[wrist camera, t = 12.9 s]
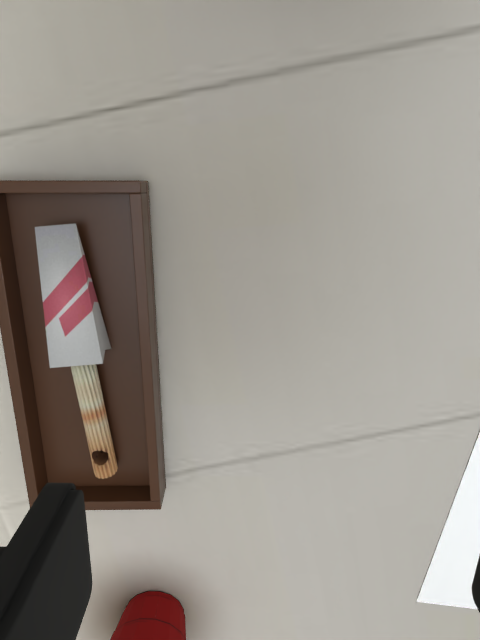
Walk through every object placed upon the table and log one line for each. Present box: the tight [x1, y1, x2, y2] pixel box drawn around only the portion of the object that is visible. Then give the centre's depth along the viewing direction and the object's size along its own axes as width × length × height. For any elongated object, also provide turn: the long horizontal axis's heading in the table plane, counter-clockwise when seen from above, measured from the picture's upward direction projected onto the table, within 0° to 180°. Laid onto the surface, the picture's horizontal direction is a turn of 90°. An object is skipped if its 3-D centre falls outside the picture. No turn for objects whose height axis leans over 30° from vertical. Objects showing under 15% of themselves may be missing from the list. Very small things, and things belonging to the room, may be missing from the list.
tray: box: [0, 181, 166, 510], centre depth 33 cm, size 26×11×3 cm, turn 0°
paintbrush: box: [35, 223, 118, 479], centre depth 33 cm, size 4×3×20 cm
